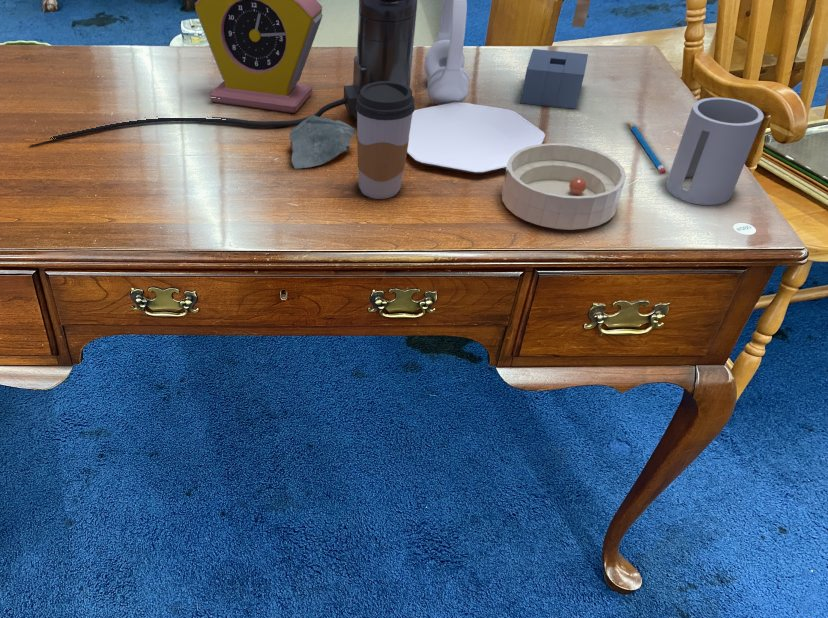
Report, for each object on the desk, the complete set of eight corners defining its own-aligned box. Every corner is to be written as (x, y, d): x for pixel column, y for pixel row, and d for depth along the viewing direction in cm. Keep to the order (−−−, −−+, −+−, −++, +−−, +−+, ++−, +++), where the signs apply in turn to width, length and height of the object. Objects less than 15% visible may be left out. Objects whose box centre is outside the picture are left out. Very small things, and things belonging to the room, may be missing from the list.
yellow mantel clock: (196, 100, 147) (184, -29, 132) (217, 81, 153) (207, -44, 138) (309, 116, 141) (310, -17, 126) (326, 95, 148) (328, -34, 132)
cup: (732, 181, 122) (764, 103, 113) (729, 209, 116) (762, 130, 107) (669, 170, 125) (695, 93, 116) (662, 197, 119) (689, 119, 110)
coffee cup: (406, 176, 125) (415, 79, 115) (407, 203, 119) (417, 104, 109) (353, 175, 126) (357, 79, 115) (351, 202, 120) (355, 103, 109)
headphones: (426, 117, 140) (439, -7, 126) (421, 75, 153) (432, -42, 139) (467, 117, 140) (486, -7, 126) (459, 75, 153) (474, -42, 139)
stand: (520, 102, 143) (526, 68, 139) (526, 81, 150) (533, 48, 146) (576, 109, 141) (584, 74, 137) (580, 87, 147) (588, 54, 143)
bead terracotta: (570, 198, 118) (574, 183, 116) (565, 190, 120) (568, 175, 118) (586, 196, 118) (590, 182, 117) (580, 188, 120) (584, 174, 118)
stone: (357, 172, 129) (355, 128, 133) (356, 154, 125) (354, 109, 130) (291, 178, 130) (291, 134, 134) (288, 160, 126) (288, 115, 131)
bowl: (521, 237, 112) (528, 202, 108) (487, 181, 124) (493, 147, 120) (633, 228, 113) (645, 193, 109) (590, 173, 124) (599, 139, 121)
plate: (552, 124, 137) (554, 116, 136) (522, 189, 121) (524, 180, 120) (418, 103, 144) (419, 95, 143) (374, 162, 129) (375, 153, 128)
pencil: (660, 174, 124) (661, 170, 123) (627, 125, 136) (628, 121, 136) (665, 174, 124) (666, 169, 123) (631, 125, 136) (633, 121, 136)
